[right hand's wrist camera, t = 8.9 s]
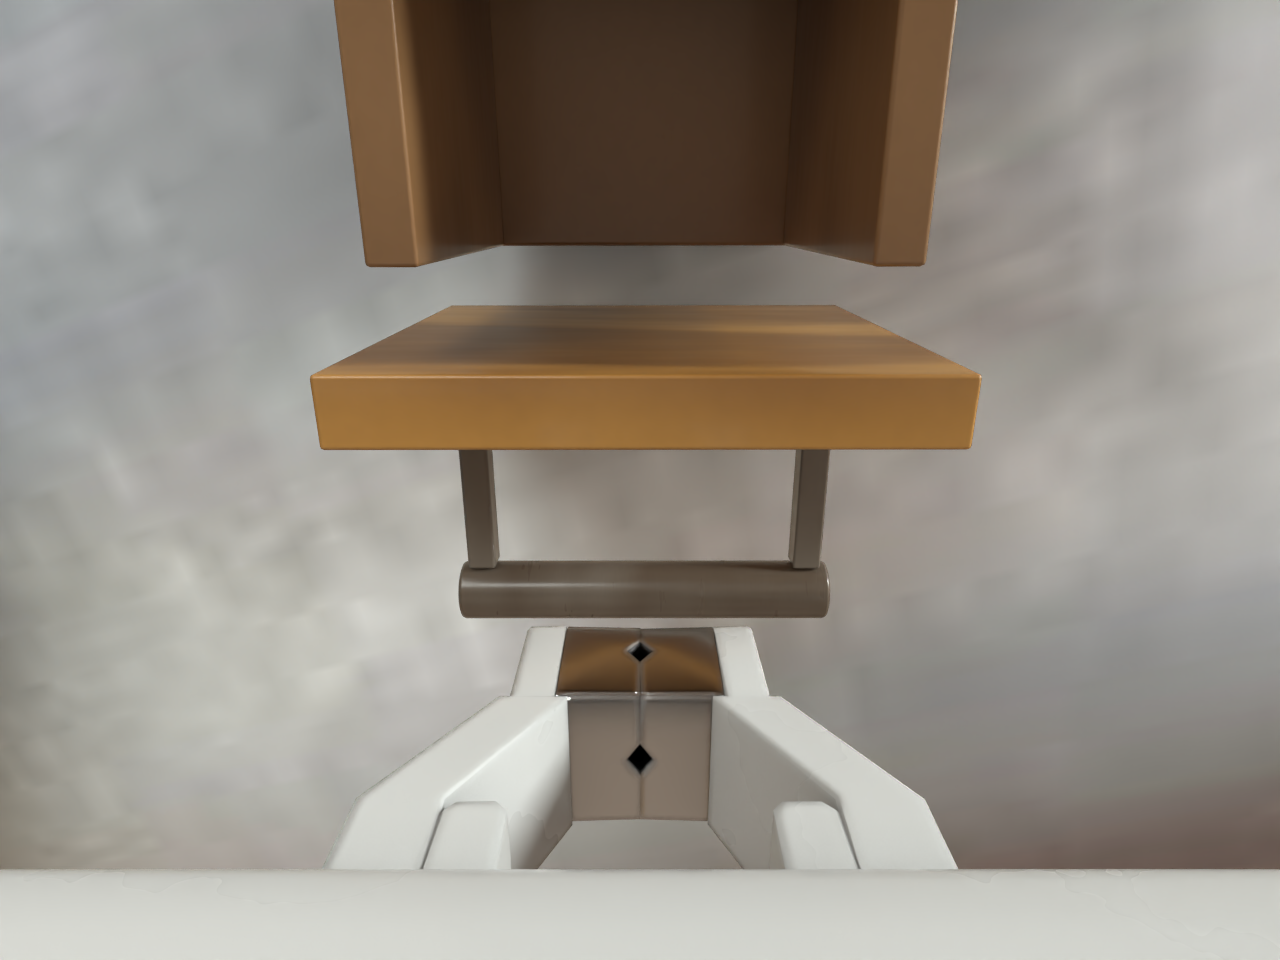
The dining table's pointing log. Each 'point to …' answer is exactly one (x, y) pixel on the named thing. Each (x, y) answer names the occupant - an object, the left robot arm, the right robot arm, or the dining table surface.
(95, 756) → the dining table surface
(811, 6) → the drawer
